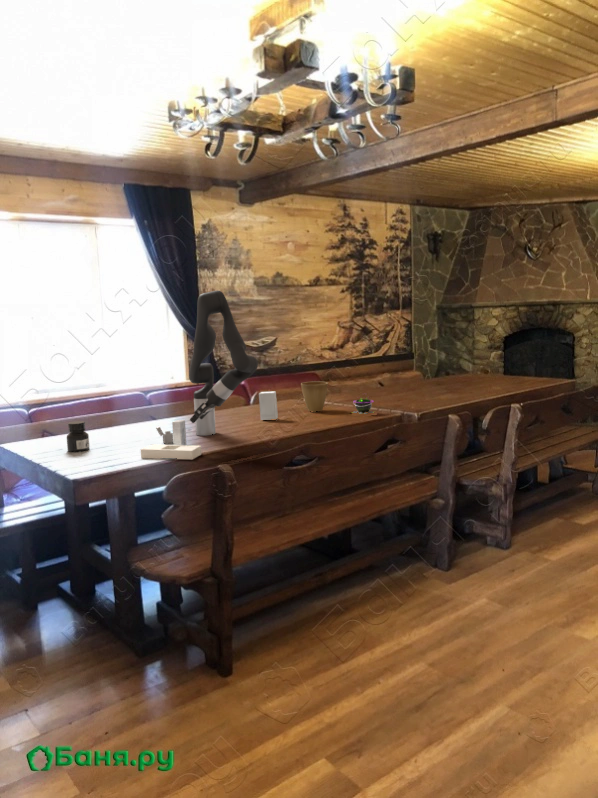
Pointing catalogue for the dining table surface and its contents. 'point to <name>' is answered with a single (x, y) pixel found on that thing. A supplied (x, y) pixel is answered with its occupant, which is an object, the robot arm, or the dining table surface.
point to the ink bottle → (77, 437)
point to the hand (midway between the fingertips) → (195, 419)
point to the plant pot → (314, 395)
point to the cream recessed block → (171, 451)
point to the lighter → (165, 435)
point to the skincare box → (268, 405)
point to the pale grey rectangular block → (179, 432)
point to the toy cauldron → (363, 406)
